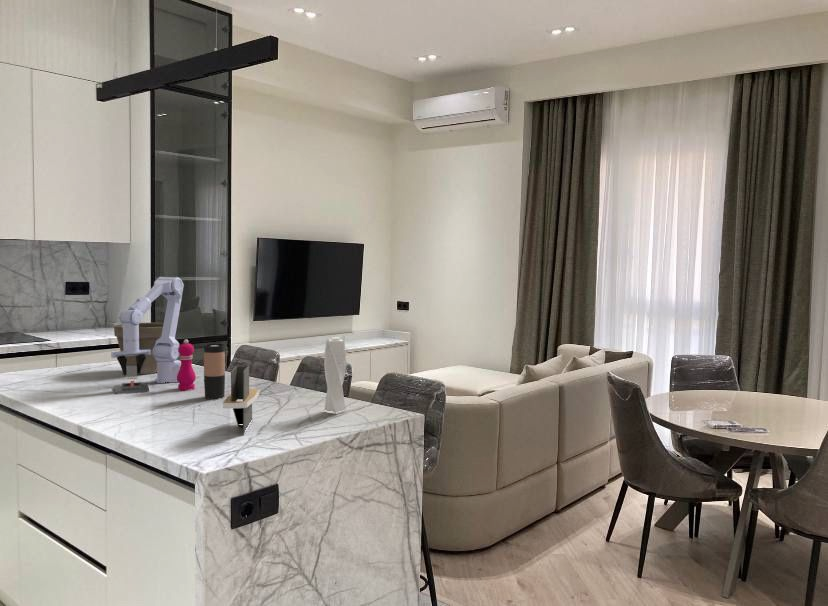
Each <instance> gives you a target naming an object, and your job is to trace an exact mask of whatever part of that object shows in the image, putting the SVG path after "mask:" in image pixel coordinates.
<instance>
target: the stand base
mask: <svg viewBox="0 0 828 606" xmlns="http://www.w3.org/2000/svg"><path fill="white" fill-rule="evenodd" d="M146 391H149V392H150V388H149V385H148V383H142V382H141V381H140V382H135V381H134V380H130V382H123V383H121V385H114V392H115V393H114V394H115V395H119V394H118V393H125V394H133V393H132V392H140V393H147V392H146Z"/></svg>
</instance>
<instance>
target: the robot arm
mask: <svg viewBox="0 0 828 606" xmlns="http://www.w3.org/2000/svg"><path fill="white" fill-rule="evenodd" d="M184 285H185V283H184V282H183V280H182V279H181V278H180V277H163V276H159V277H157V278H156V280H155V281H153V286H152V287H151V288H150V290H149V291H148V292H147V293H146V294H145V295H144V297H143V296H140V297H137V298H136V301H135V302H133V304H131V305H130V306H129V307H128V308H127V309H124V310H123V311H121V312H120V314H119V317H118V320H119V322H120V324H122V328H123V351H120V350H119V351H113V352H112V351H111V353H110V354H111V355H110V357H111V358H112V359H116V360H117V361H118V364H119V365H120V368H121V371H122V375H123V376H126V374H127V371H126V363H127V359H126V356H136V362H137V375H141V374H140V372H141V368H142V365H143V362H144V360H145V359H146V356H145V355H151V350H149V349H148V350H139V323H142V321H143V317H144V315H145V314H146V313H147V311H149V310H150V309H151V307H152V303H153V302H154V301H155V300H156V299H157V298H159V296H163V297H164V298H165V299H166V301H167V303H166V308H165V315H164V318H163V319H164V320H163V323H164V324H163V330H162V336H161V337H160V338H159V339H158V340H156V343H155V346H154V348H153V351H152V353H153V356H154V358H156V361H157V373H156V374H157V375H156V379H155V382H156V383H157V384H165V382H166V384H167V382H169V383H179V382H178V381H177V375H178V372H179V370H180V366H181V359H178V358H179V357H180V354H179V352H178V348H179V346H180V343H179V341H178V340H177V339H176V333H177V327H178V321H179V316H180V310H181V303H182V298H183V292H184ZM165 344H169V345H165ZM127 354H132V355H127Z"/></svg>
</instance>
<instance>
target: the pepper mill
mask: <svg viewBox="0 0 828 606" xmlns="http://www.w3.org/2000/svg"><path fill="white" fill-rule="evenodd" d="M178 352H179V360H180V364H181V366H180V370H179V372H178V375H177V381H178V382H177V383H179V384H177V389H178V390H179V389H180V390H179V391H189V390H188V389H192V390H194V389H195V388H196V387H195V386H196V385H195V383H194V382H195V381H197V380H196V379H197V377H196V376H197V375H196V373H195V370H194V368H193V365H192V361H193V360H192V359H193V356H194V355H193V353H194V352H195V348H194V345H192V344H191V343H189V340H188V339H187V338H186V339H184V340H183V343H182V344H179V348H178Z"/></svg>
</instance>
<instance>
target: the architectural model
mask: <svg viewBox="0 0 828 606" xmlns="http://www.w3.org/2000/svg"><path fill="white" fill-rule="evenodd" d="M259 395H260V388H250V365H235V366H234V367H233V369H232V370H231V371H230V393H229V394H228V395H227V397H226V398H225V399H224V401H223V402H222V409H232V411H233V414H234V417H235V420H236V425H237V424H243V426H242V433H243V432H245V430H246V428H247V427H248V425H249V423H250V422H251V420H252V421H253V403H254V402H255V401H256V400H257V398H258V397H259ZM239 400H240V401H239ZM241 400H242V401H241ZM251 423H252V422H251Z"/></svg>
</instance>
